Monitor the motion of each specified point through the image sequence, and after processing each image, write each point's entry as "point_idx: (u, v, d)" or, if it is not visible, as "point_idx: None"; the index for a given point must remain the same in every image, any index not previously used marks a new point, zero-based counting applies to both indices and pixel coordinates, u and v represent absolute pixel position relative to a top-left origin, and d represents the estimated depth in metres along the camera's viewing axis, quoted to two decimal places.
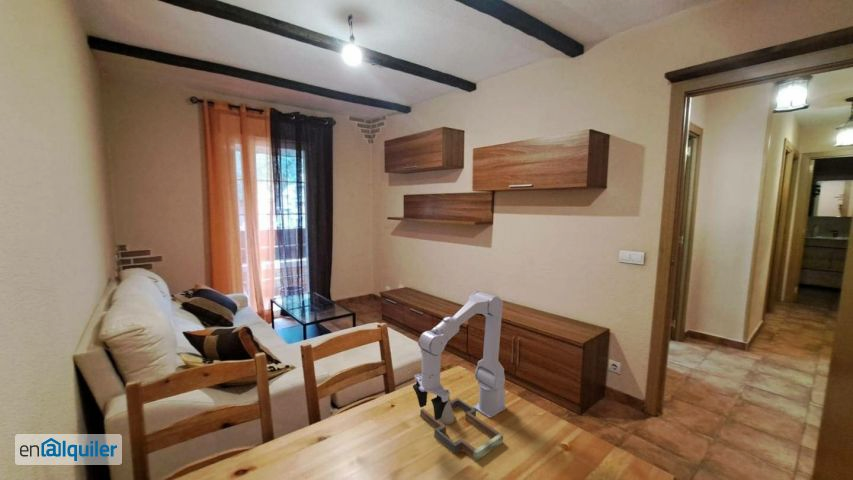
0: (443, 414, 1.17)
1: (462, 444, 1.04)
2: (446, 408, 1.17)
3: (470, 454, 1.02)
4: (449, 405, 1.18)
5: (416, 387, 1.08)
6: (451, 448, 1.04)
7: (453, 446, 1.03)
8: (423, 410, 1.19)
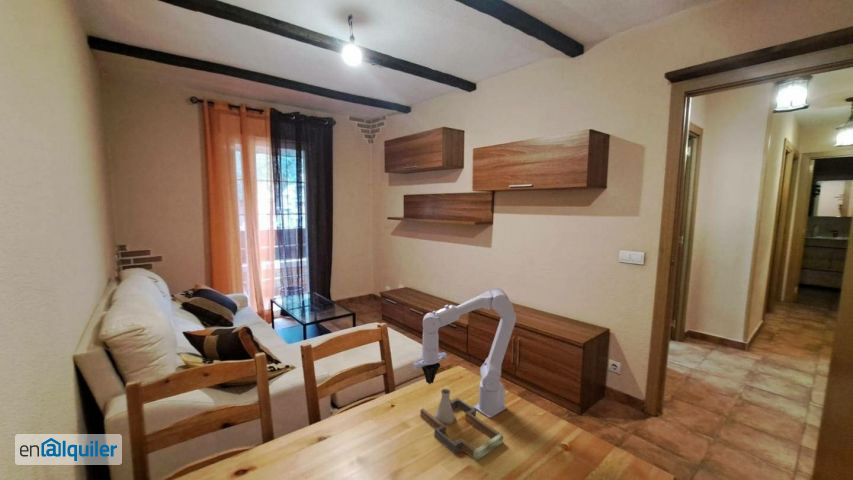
0: (443, 414, 1.17)
1: (462, 444, 1.04)
2: (447, 408, 1.17)
3: (470, 454, 1.02)
4: (449, 405, 1.18)
5: None
6: (451, 448, 1.04)
7: (453, 446, 1.03)
8: (423, 410, 1.19)
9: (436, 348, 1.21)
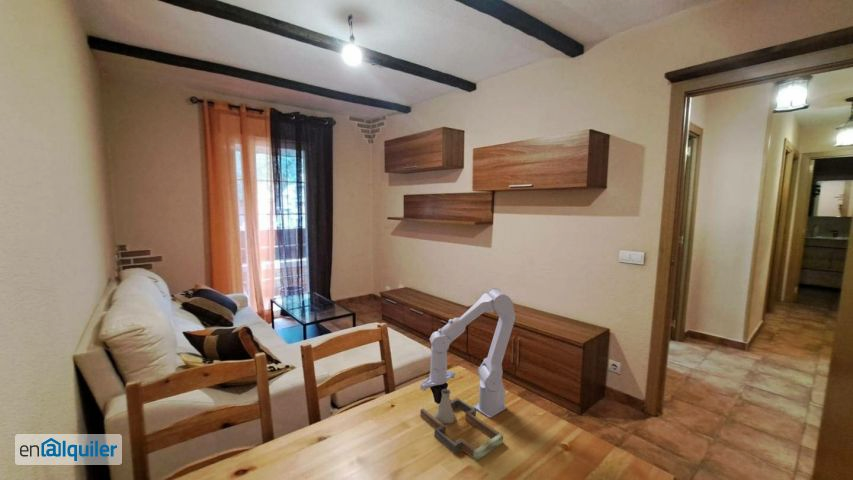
0: (443, 414, 1.16)
1: (462, 444, 1.04)
2: (447, 408, 1.17)
3: (470, 454, 1.02)
4: (449, 405, 1.17)
5: None
6: (451, 448, 1.04)
7: (453, 446, 1.03)
8: (423, 410, 1.19)
9: (445, 367, 1.19)
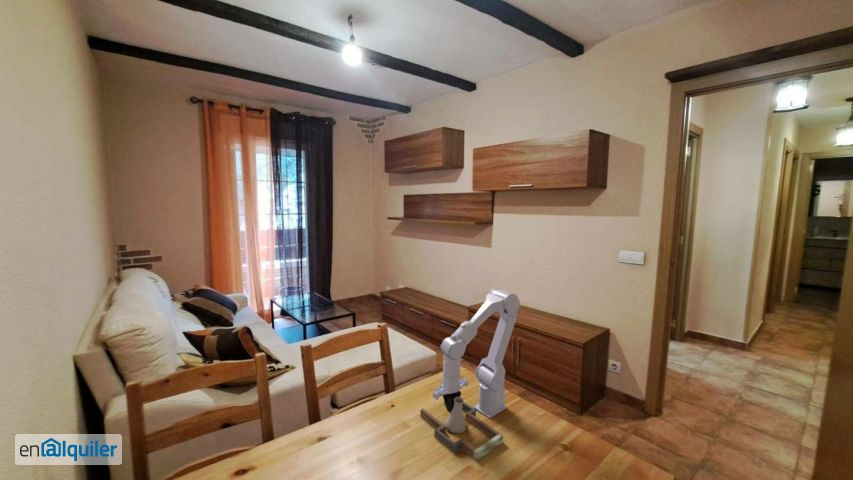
0: (454, 423, 1.12)
1: (462, 444, 1.04)
2: (458, 417, 1.12)
3: (470, 454, 1.02)
4: (461, 414, 1.12)
5: None
6: (451, 448, 1.04)
7: (453, 446, 1.03)
8: (423, 410, 1.19)
9: (459, 373, 1.15)
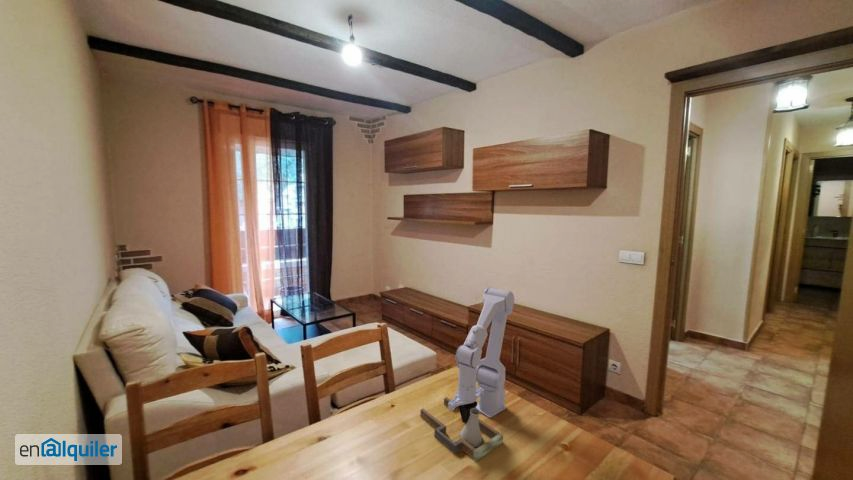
0: (468, 435, 1.06)
1: (462, 444, 1.04)
2: (473, 429, 1.06)
3: (470, 454, 1.02)
4: (477, 427, 1.06)
5: None
6: (451, 448, 1.04)
7: (453, 446, 1.03)
8: (423, 410, 1.19)
9: None
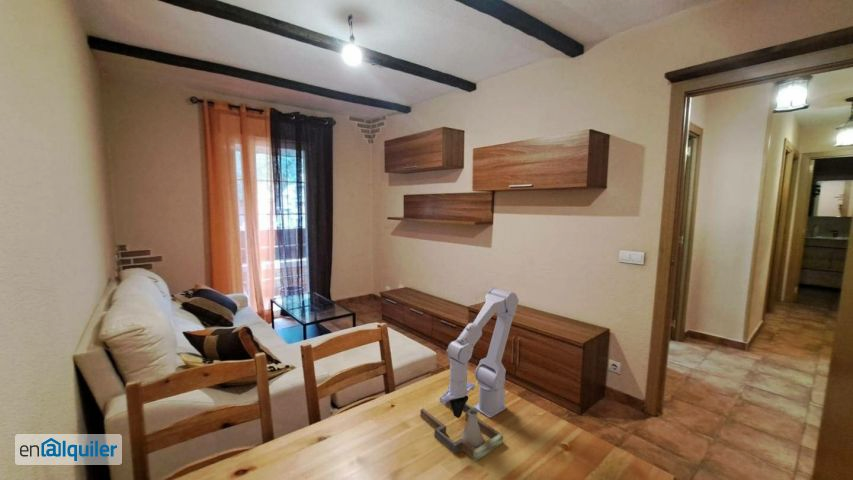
0: (469, 436, 1.06)
1: (462, 444, 1.04)
2: (473, 430, 1.06)
3: (470, 454, 1.02)
4: (476, 427, 1.06)
5: None
6: (451, 448, 1.04)
7: (453, 446, 1.03)
8: (423, 410, 1.19)
9: None
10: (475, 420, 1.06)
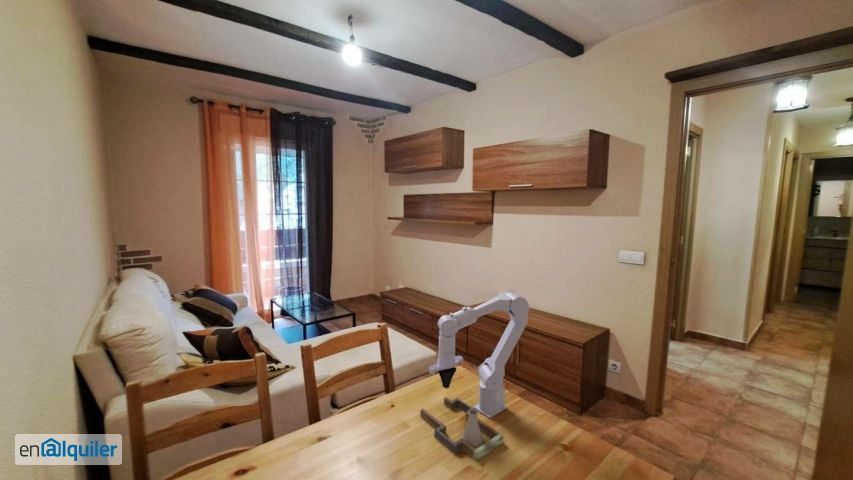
0: (469, 436, 1.06)
1: (462, 444, 1.04)
2: (473, 430, 1.06)
3: (470, 454, 1.02)
4: (476, 427, 1.06)
5: None
6: (451, 448, 1.04)
7: (453, 446, 1.03)
8: (423, 410, 1.19)
9: (454, 351, 1.18)
10: (475, 420, 1.06)
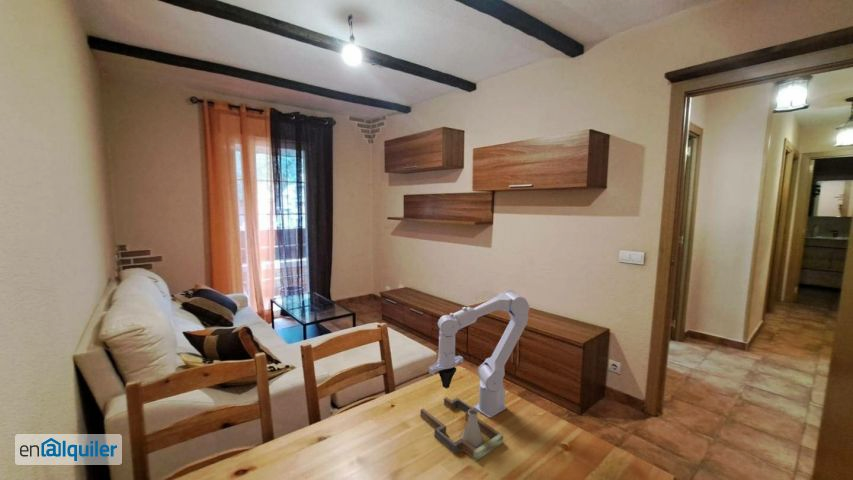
0: (469, 436, 1.06)
1: (462, 444, 1.04)
2: (473, 430, 1.06)
3: (470, 454, 1.02)
4: (476, 427, 1.06)
5: None
6: (451, 448, 1.04)
7: (453, 446, 1.03)
8: (423, 410, 1.19)
9: (454, 351, 1.18)
10: (475, 420, 1.06)
